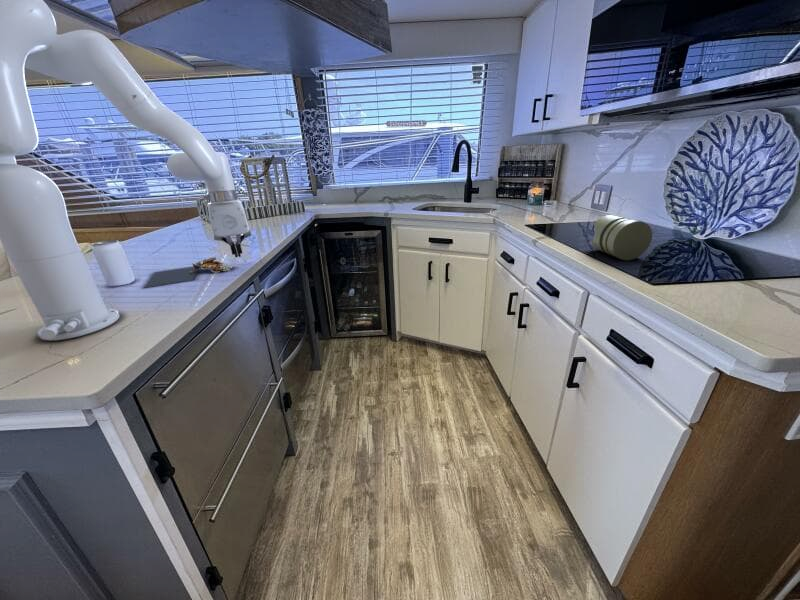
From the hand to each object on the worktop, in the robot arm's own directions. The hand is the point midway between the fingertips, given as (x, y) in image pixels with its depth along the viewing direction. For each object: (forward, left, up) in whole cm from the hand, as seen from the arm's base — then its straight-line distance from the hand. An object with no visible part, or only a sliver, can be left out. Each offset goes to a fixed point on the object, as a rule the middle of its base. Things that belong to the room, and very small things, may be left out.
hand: (238, 256), depth 104 cm
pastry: (0, +8, -3) cm, 8 cm away
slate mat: (0, +19, -3) cm, 19 cm away
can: (+1, +32, -4) cm, 32 cm away
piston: (-57, -105, -4) cm, 120 cm away
